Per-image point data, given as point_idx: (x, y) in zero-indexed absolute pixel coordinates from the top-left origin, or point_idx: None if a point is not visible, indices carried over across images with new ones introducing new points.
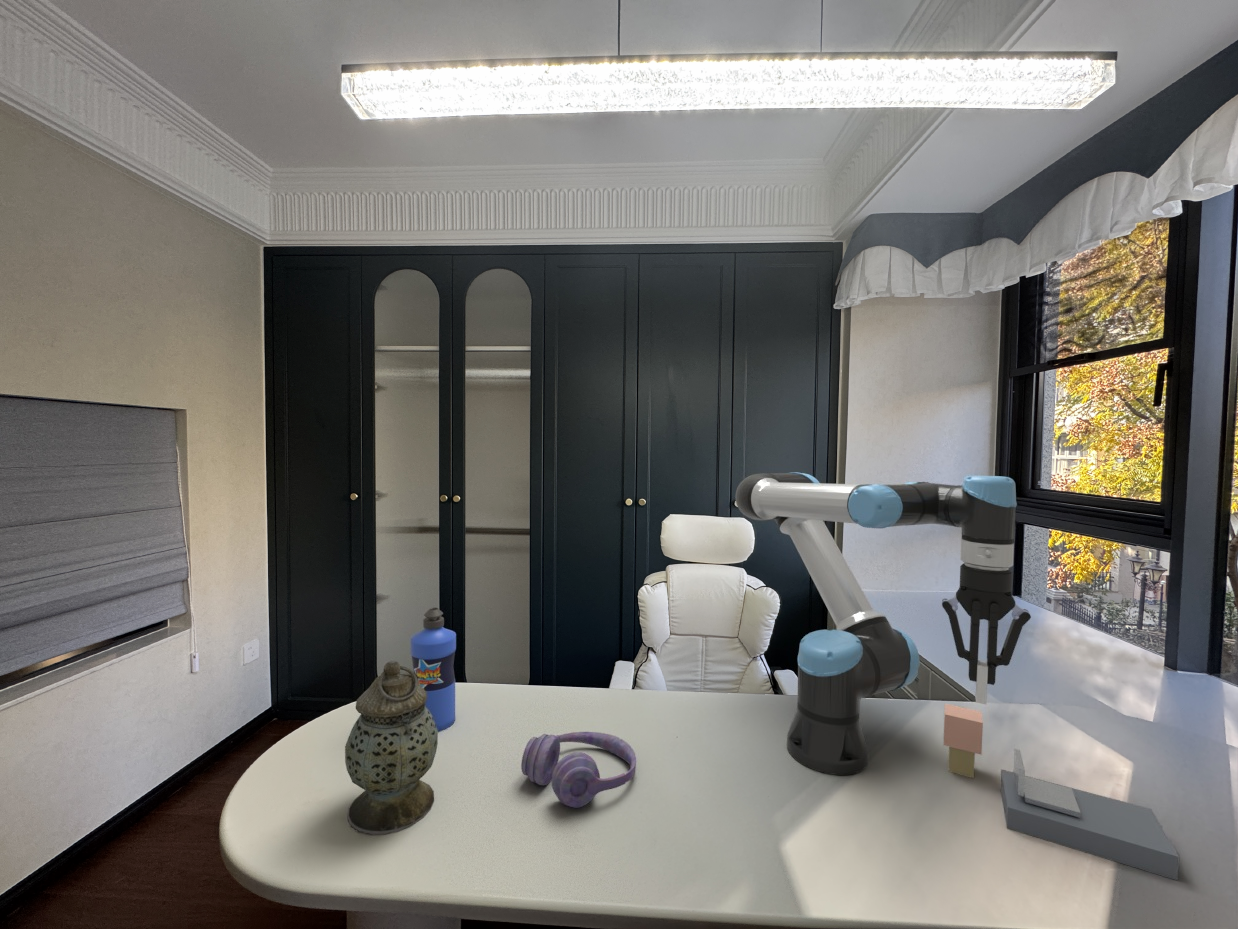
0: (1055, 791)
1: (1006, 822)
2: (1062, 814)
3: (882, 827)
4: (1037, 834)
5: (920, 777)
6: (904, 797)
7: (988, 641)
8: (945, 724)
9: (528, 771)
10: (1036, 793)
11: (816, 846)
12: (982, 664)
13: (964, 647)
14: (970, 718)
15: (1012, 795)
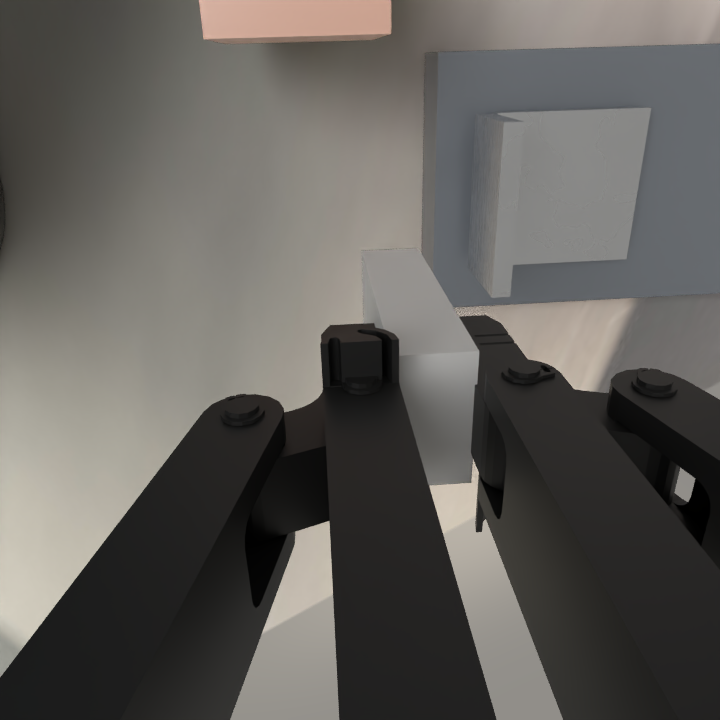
0: (590, 167)
1: None
2: None
3: (146, 458)
4: None
5: (178, 149)
6: (160, 301)
7: (552, 684)
8: (216, 40)
9: None
10: (526, 220)
11: (50, 586)
12: (433, 443)
13: (273, 464)
14: (331, 10)
15: (453, 230)
